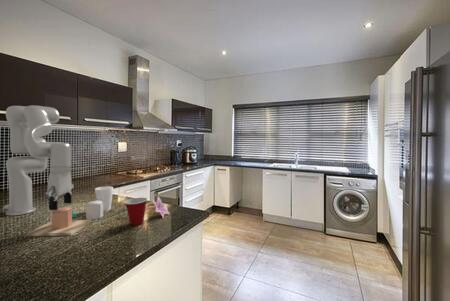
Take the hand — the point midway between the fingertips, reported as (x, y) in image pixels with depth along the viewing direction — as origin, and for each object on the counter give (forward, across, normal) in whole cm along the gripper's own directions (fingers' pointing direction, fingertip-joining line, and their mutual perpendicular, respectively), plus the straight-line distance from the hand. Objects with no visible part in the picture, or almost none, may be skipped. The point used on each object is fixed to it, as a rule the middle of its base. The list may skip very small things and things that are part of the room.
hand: (60, 206), depth 101 cm
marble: (+9, -14, -3) cm, 17 cm away
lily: (+10, -15, +42) cm, 46 cm away
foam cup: (+11, -28, +7) cm, 30 cm away
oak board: (+10, 0, +1) cm, 10 cm away
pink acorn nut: (+9, 0, +1) cm, 9 cm away
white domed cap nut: (+10, -14, +8) cm, 19 cm away
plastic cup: (+10, -4, +33) cm, 34 cm away
